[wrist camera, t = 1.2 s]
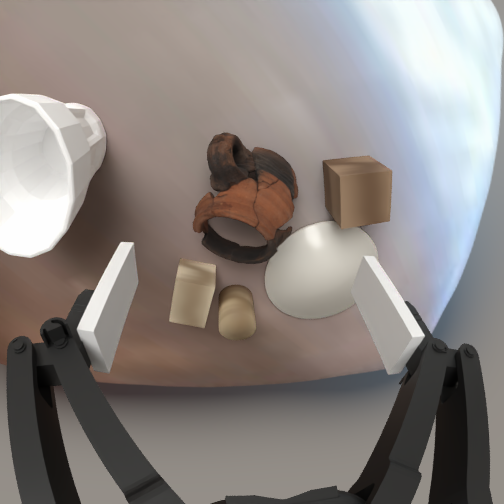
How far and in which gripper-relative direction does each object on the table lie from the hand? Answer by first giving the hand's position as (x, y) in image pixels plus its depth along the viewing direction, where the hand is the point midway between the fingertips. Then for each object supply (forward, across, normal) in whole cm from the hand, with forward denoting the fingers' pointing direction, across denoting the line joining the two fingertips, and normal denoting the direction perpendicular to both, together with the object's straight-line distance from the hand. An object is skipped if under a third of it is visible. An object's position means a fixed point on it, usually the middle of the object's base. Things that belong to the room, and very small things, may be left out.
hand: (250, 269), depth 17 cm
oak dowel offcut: (+14, +1, -14) cm, 20 cm away
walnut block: (+14, +11, +2) cm, 18 cm away
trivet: (+14, +11, -10) cm, 20 cm away
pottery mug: (+14, 0, 0) cm, 14 cm away
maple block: (+14, -4, -12) cm, 19 cm away
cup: (+14, -17, +4) cm, 23 cm away
